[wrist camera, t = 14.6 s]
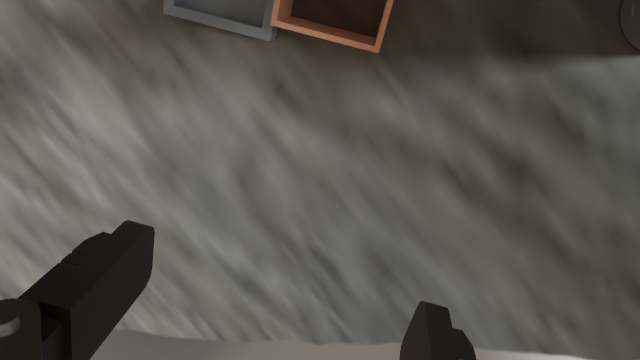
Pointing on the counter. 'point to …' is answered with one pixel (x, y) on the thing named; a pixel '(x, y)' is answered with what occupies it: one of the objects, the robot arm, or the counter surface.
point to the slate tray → (228, 15)
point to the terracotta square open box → (329, 27)
